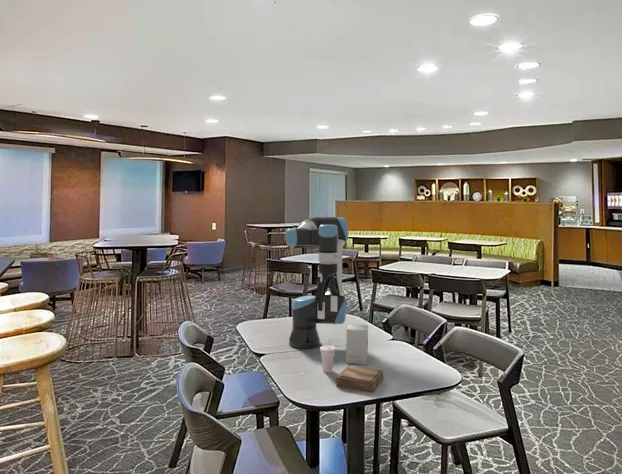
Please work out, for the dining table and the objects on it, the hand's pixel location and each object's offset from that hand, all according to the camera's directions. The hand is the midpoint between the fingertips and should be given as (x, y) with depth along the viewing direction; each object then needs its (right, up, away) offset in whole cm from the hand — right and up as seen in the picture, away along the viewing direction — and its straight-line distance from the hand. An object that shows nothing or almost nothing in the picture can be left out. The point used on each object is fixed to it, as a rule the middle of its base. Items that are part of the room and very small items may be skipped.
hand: (327, 314), depth 177 cm
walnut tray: (+12, -24, -10) cm, 29 cm away
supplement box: (+14, -23, +14) cm, 30 cm away
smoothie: (0, -24, +2) cm, 24 cm away
